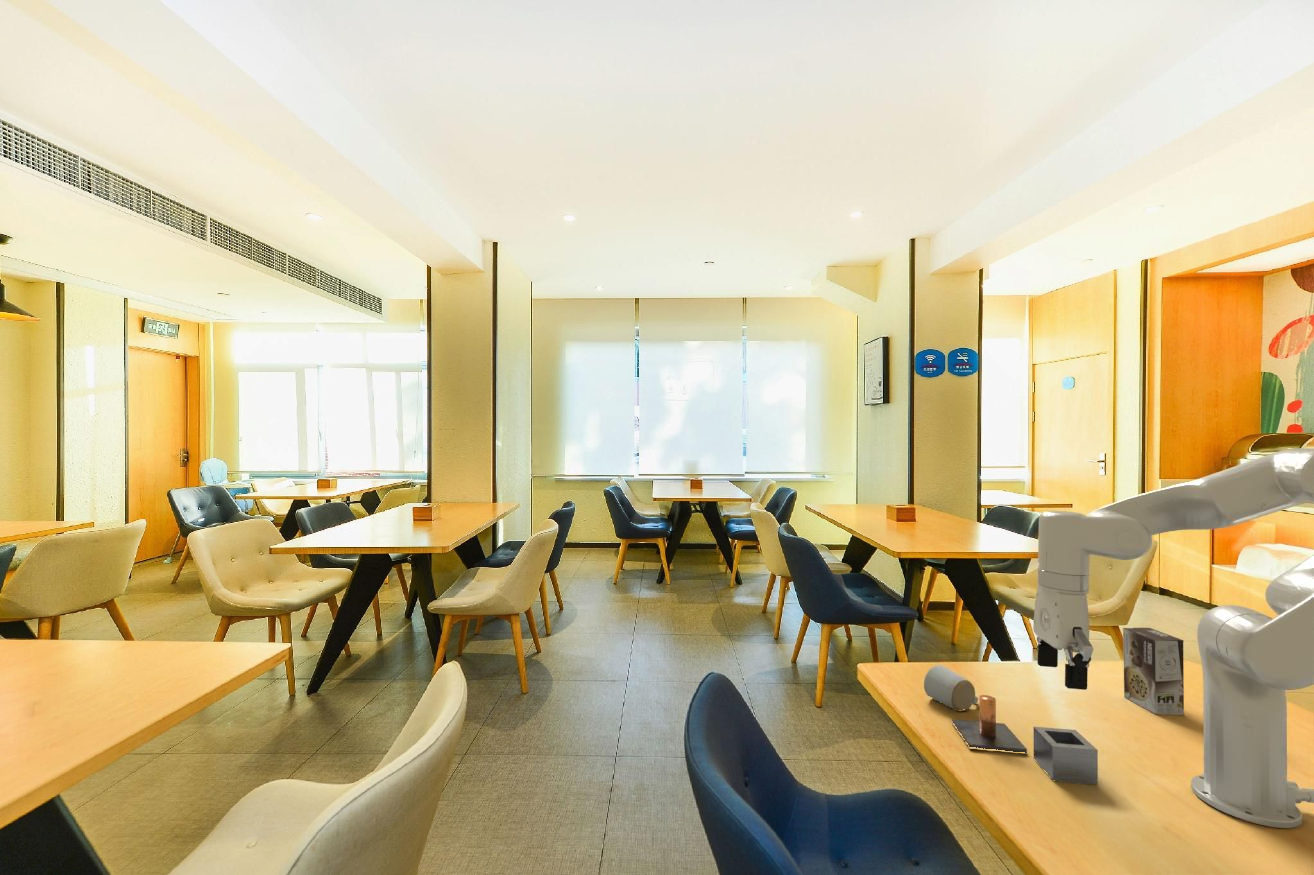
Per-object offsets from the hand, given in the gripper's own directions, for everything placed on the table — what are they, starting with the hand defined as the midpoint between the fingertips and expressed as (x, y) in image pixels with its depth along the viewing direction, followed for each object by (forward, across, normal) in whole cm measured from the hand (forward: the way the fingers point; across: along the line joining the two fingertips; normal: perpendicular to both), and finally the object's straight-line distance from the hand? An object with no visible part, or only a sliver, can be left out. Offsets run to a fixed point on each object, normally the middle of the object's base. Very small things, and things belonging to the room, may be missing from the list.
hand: (1061, 676), depth 103 cm
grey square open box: (+17, 0, +1) cm, 17 cm away
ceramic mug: (+17, -25, -10) cm, 32 cm away
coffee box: (+16, -32, +34) cm, 49 cm away
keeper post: (+17, -10, -8) cm, 21 cm away
